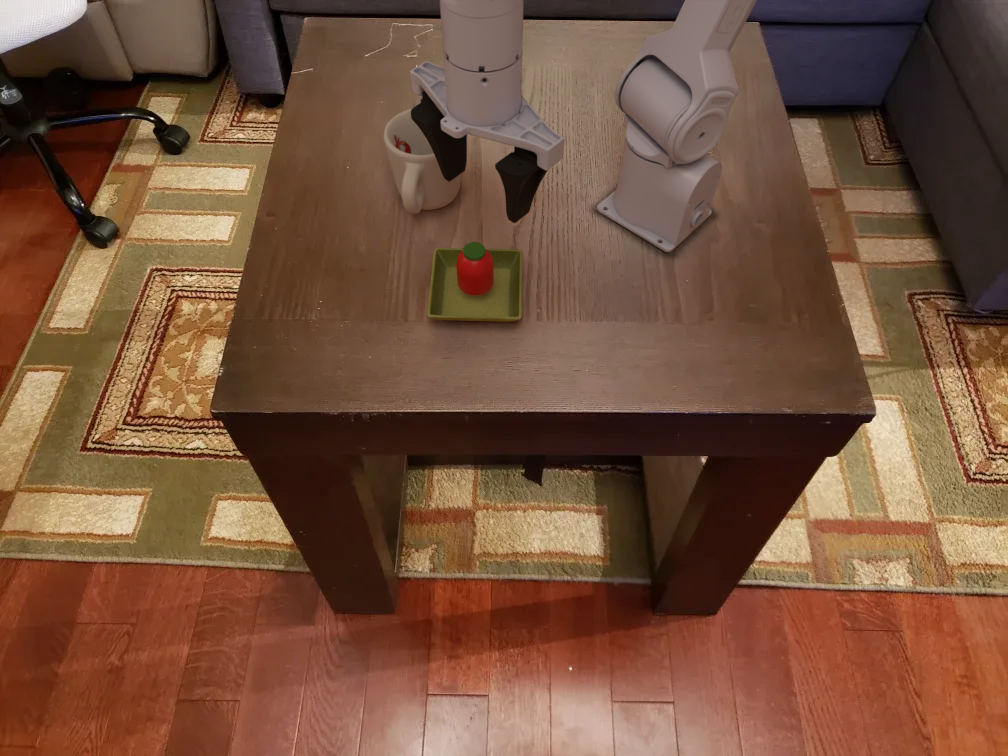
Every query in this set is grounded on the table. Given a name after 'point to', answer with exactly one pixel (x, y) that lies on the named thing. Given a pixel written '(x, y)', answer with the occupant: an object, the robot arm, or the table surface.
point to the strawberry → (475, 269)
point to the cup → (416, 166)
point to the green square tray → (490, 306)
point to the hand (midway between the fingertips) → (486, 194)
